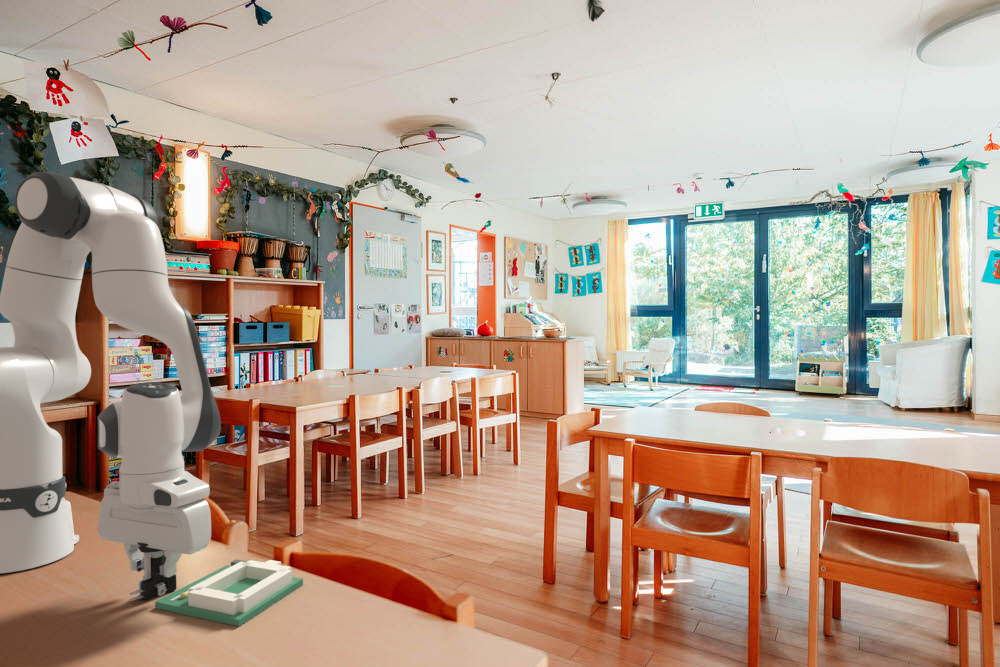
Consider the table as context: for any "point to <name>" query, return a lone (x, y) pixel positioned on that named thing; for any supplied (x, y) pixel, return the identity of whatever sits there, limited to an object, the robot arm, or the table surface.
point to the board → (233, 592)
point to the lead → (236, 562)
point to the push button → (153, 575)
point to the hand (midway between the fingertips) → (153, 572)
